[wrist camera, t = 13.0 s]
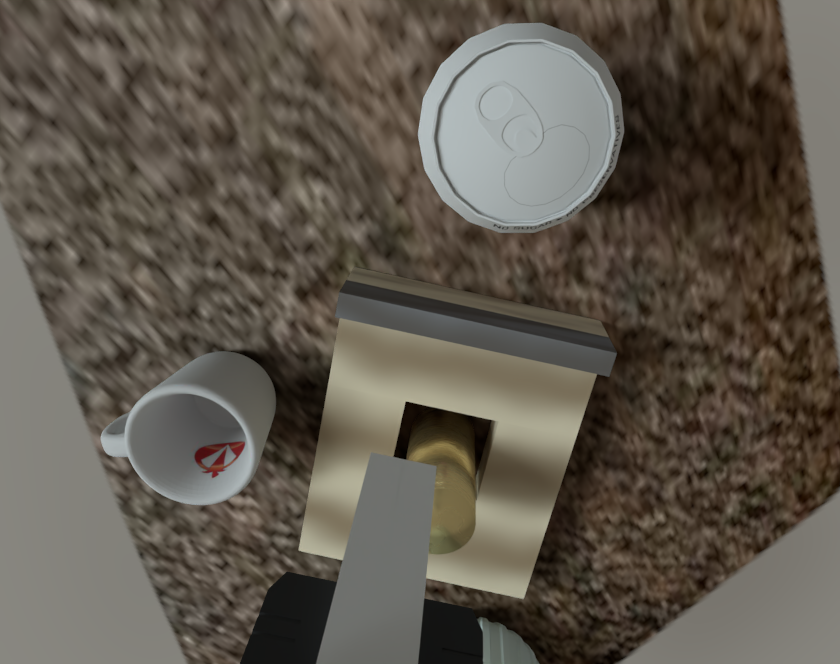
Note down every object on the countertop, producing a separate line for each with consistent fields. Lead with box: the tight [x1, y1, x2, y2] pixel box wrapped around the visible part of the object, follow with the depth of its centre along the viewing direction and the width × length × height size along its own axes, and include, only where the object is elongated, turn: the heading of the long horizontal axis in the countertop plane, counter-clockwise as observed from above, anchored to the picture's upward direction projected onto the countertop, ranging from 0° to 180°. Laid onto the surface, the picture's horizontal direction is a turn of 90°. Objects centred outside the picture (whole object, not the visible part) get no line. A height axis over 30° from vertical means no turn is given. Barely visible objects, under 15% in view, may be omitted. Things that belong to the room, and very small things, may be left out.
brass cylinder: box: [406, 407, 476, 555], centre depth 44 cm, size 4×4×10 cm
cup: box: [101, 351, 276, 505], centre depth 45 cm, size 11×8×8 cm
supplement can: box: [418, 23, 624, 233], centre depth 34 cm, size 8×8×15 cm
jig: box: [299, 267, 617, 599], centre depth 46 cm, size 20×16×6 cm
